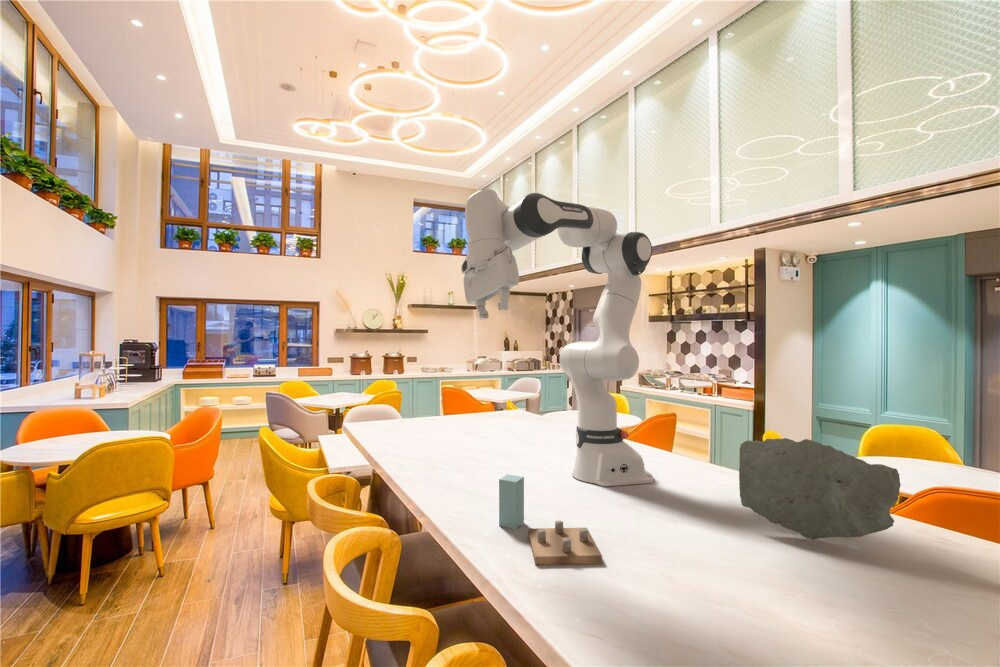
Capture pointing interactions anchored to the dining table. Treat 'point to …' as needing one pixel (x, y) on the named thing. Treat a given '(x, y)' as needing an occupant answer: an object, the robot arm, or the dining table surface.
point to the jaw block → (511, 501)
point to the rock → (816, 488)
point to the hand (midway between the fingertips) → (493, 314)
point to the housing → (563, 546)
